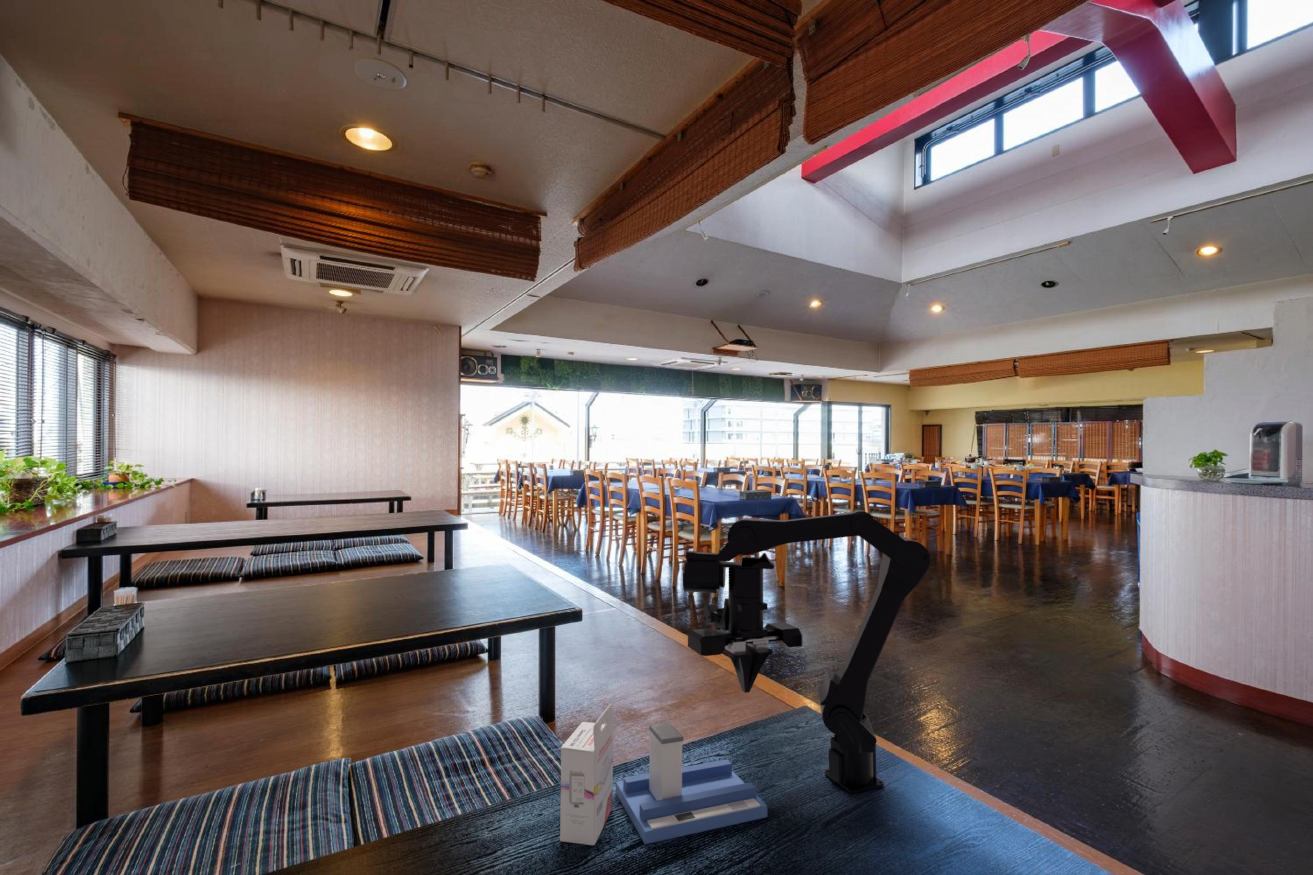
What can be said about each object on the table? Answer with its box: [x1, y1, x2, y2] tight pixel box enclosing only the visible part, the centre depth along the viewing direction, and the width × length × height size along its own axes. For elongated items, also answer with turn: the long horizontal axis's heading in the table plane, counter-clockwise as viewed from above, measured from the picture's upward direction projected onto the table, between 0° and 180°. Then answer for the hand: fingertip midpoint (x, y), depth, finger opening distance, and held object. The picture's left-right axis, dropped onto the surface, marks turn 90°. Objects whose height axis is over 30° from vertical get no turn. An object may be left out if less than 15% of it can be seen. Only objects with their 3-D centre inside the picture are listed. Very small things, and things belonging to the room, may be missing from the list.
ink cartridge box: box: [559, 703, 614, 846], centre depth 77 cm, size 9×5×15 cm, turn 168°
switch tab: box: [648, 721, 684, 801], centre depth 81 cm, size 3×5×9 cm, turn 21°
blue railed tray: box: [615, 759, 768, 845], centre depth 82 cm, size 18×13×3 cm
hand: (745, 691), depth 93 cm, fingers closed
